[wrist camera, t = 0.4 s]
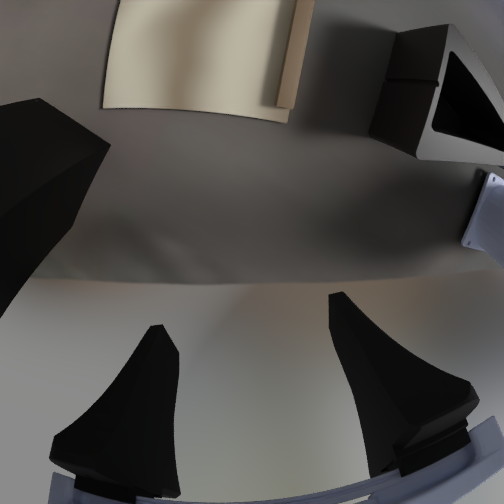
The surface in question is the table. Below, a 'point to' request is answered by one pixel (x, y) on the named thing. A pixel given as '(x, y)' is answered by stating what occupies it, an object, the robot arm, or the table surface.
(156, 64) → the book stand
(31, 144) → the tissue box
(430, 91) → the dark grey open container
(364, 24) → the table surface
